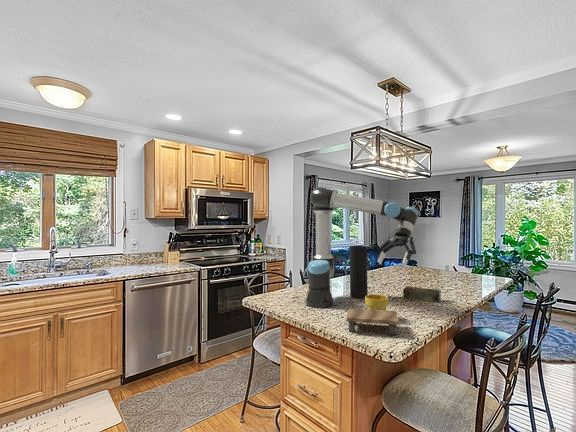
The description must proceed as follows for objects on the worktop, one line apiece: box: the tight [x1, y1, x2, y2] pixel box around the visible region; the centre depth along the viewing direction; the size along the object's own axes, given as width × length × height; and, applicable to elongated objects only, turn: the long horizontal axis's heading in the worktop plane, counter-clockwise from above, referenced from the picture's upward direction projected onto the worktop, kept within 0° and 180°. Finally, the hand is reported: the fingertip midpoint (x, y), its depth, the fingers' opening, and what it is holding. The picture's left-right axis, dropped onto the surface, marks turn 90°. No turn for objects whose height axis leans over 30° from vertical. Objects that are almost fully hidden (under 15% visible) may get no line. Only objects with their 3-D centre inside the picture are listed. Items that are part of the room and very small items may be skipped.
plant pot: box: [364, 293, 389, 311], centre depth 144 cm, size 10×10×10 cm
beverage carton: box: [402, 286, 442, 304], centre depth 176 cm, size 8×19×7 cm, turn 59°
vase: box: [348, 245, 369, 300], centre depth 186 cm, size 10×10×30 cm
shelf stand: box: [345, 307, 400, 337], centre depth 129 cm, size 20×14×6 cm
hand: (391, 263), depth 154 cm, fingers open, 13 cm apart
